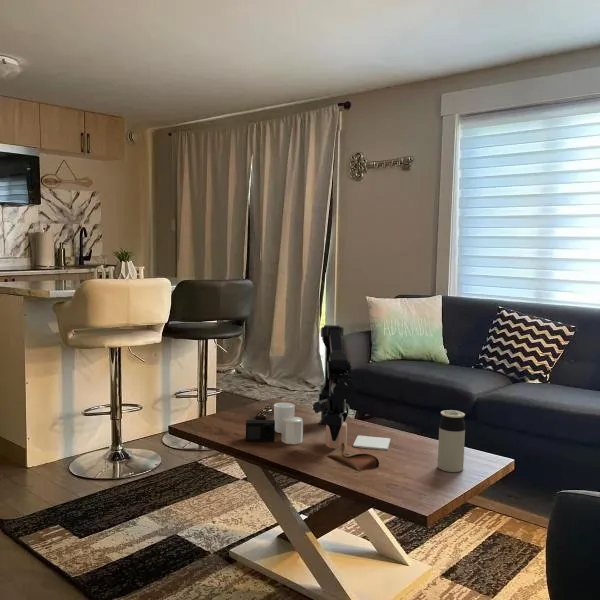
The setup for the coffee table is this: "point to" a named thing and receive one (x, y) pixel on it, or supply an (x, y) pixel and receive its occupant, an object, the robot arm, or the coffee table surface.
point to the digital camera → (260, 430)
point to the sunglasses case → (354, 457)
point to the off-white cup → (292, 430)
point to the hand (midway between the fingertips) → (336, 436)
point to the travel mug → (451, 441)
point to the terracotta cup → (340, 438)
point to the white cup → (282, 414)
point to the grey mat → (372, 442)
